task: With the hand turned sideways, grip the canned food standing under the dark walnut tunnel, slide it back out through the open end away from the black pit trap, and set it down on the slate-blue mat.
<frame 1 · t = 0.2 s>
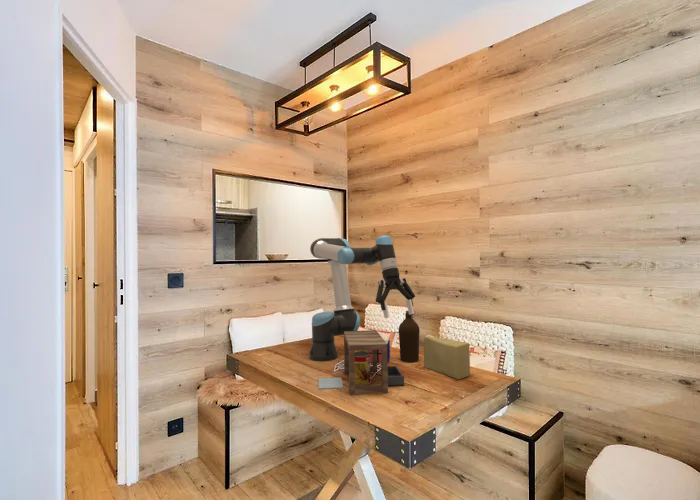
hand: (399, 316, 163), 27 cm above the table, tool tilted 15°, fingers open, 13 cm apart
canned food: (361, 382, 158), on the table
puzzle cube: (379, 361, 190), on the table
olive oil: (409, 360, 190), on the table
tunnel: (361, 382, 158), on the table
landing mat: (330, 383, 157), on the table
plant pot: (367, 350, 210), on the table
pit trap: (392, 380, 159), on the table
cheese: (443, 372, 170), on the table
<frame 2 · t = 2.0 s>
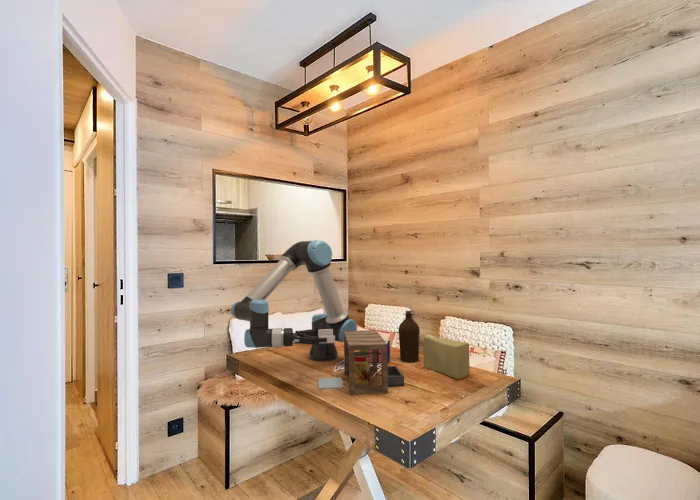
hand: (334, 335, 158), 20 cm above the table, tool horizontal, fingers open, 13 cm apart
nothing on the table moved.
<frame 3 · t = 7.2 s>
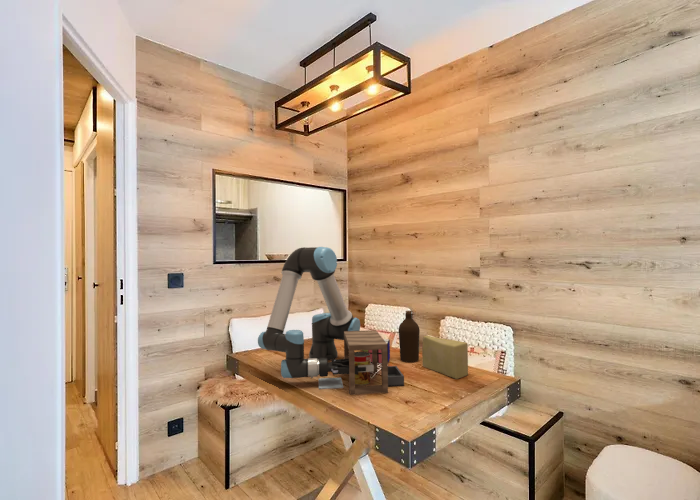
hand: (371, 365, 159), 7 cm above the table, tool horizontal, fingers closed on canned food, 8 cm apart
canned food: (361, 382, 158), on the table, touching gripper
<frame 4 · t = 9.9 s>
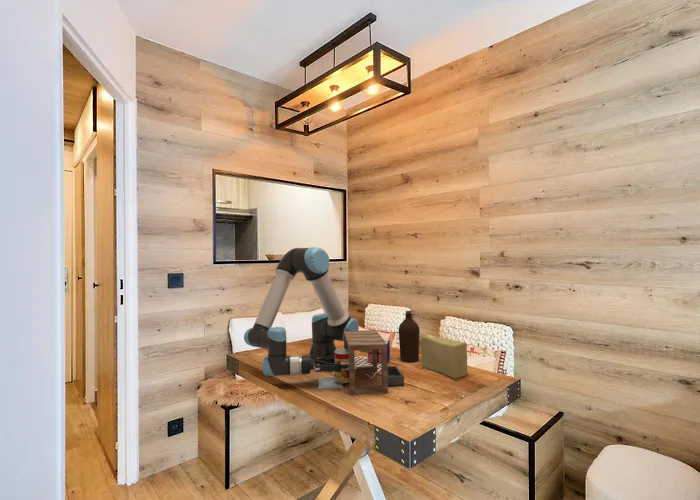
hand: (355, 362, 158), 8 cm above the table, tool horizontal, fingers closed on canned food, 8 cm apart
canned food: (344, 380, 157), point 1 cm above the table, touching gripper
when the fingers open (8 cm above the table, at t = 12.4 s): canned food stays where it is, resting on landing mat.
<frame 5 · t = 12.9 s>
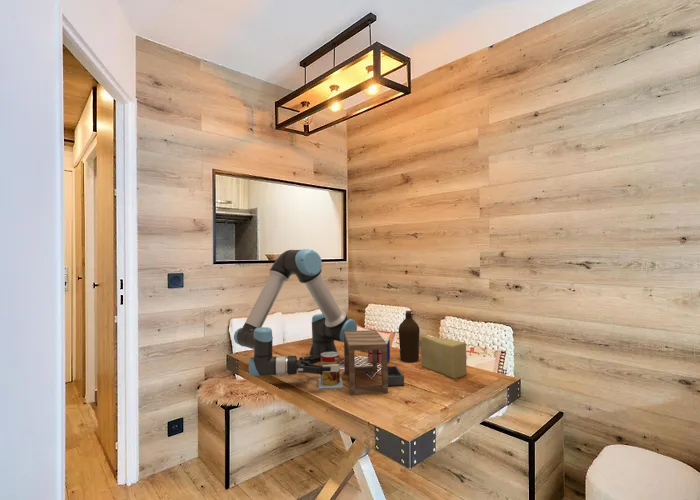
hand: (337, 363, 157), 8 cm above the table, tool horizontal, fingers open, 13 cm apart
canned food: (330, 383, 157), resting on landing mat
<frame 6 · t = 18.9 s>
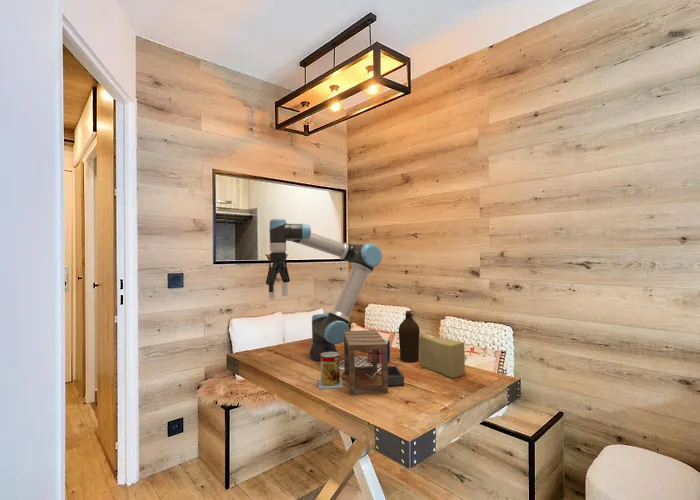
hand: (278, 297, 174), 35 cm above the table, tool pointing down, fingers open, 13 cm apart
at the end: canned food inside the target area on the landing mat (0.1 cm from its centre), point 0.2 cm above the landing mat's base; canned food tilted 0°; the gripper is holding nothing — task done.
